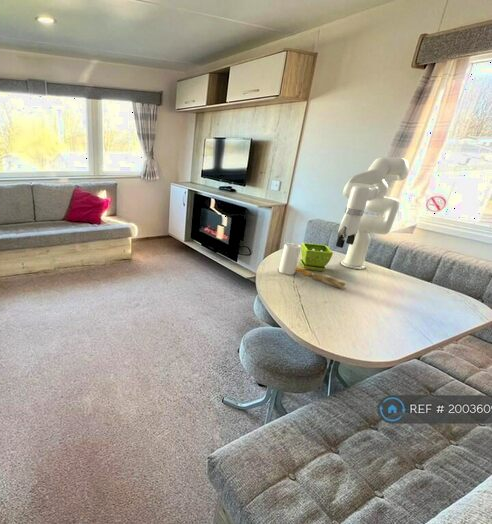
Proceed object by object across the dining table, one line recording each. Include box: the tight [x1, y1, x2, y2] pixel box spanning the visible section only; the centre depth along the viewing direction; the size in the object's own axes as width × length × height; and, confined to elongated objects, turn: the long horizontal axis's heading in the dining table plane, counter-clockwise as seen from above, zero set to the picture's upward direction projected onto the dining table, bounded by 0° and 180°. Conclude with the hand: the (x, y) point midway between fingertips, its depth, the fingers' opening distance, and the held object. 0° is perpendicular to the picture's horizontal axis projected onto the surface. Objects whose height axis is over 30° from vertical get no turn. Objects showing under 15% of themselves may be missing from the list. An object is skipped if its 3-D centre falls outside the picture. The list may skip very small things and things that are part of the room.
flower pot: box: [299, 242, 333, 272], centre depth 182 cm, size 14×14×13 cm
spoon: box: [312, 272, 347, 290], centre depth 164 cm, size 16×5×4 cm, turn 32°
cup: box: [278, 242, 302, 276], centre depth 173 cm, size 8×8×16 cm
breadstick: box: [295, 265, 313, 277], centre depth 176 cm, size 10×2×2 cm, turn 32°
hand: (344, 245), depth 156 cm, fingers open, 9 cm apart
